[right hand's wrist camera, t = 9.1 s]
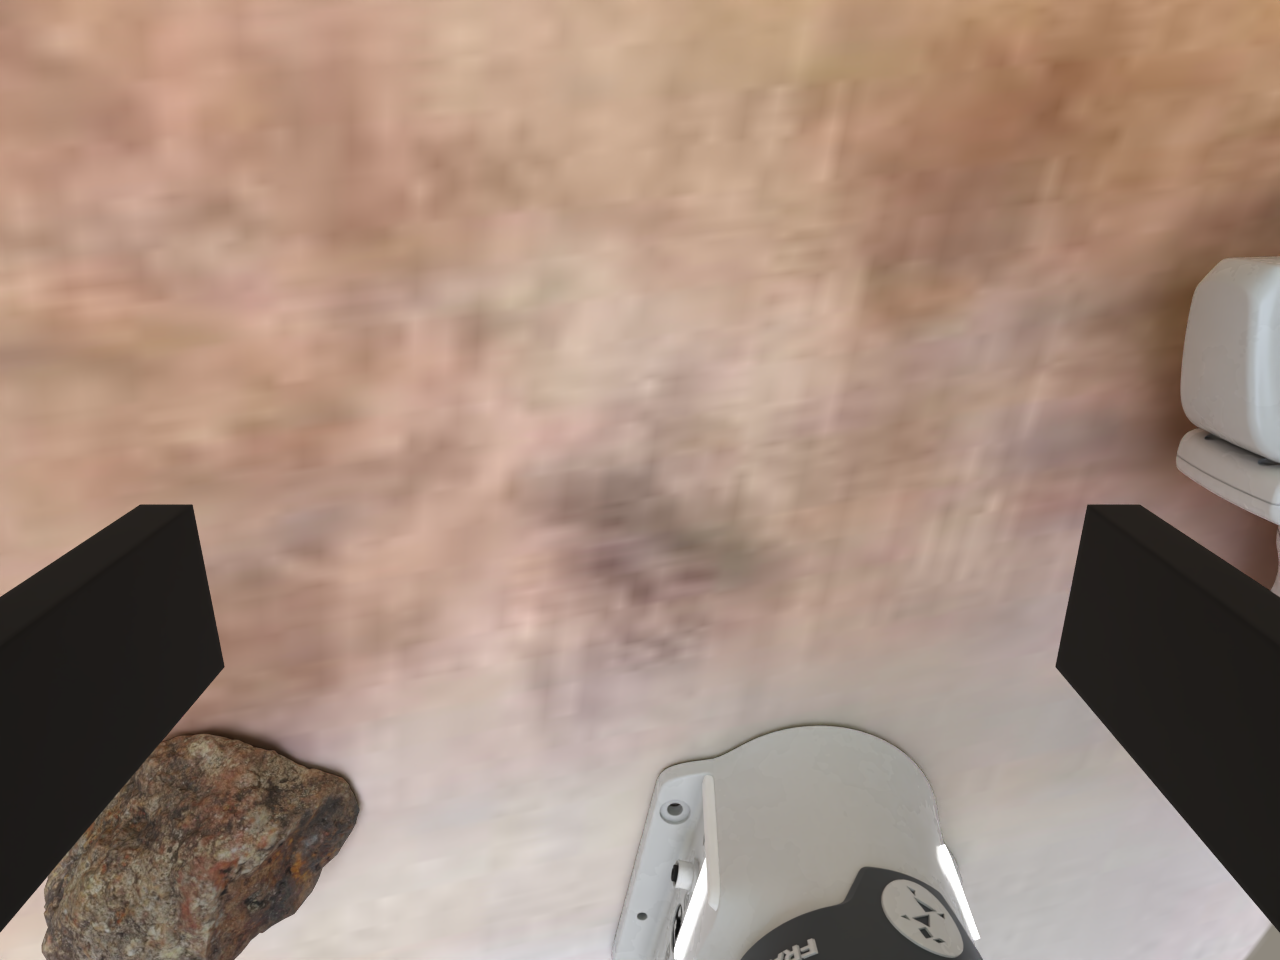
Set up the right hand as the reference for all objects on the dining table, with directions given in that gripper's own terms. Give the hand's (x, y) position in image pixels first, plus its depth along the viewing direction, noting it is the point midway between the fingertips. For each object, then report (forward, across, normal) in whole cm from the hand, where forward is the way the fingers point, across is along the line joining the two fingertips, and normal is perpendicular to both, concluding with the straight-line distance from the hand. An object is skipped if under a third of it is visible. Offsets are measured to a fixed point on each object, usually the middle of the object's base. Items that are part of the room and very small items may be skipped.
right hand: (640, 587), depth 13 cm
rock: (+27, -23, -27) cm, 45 cm away
